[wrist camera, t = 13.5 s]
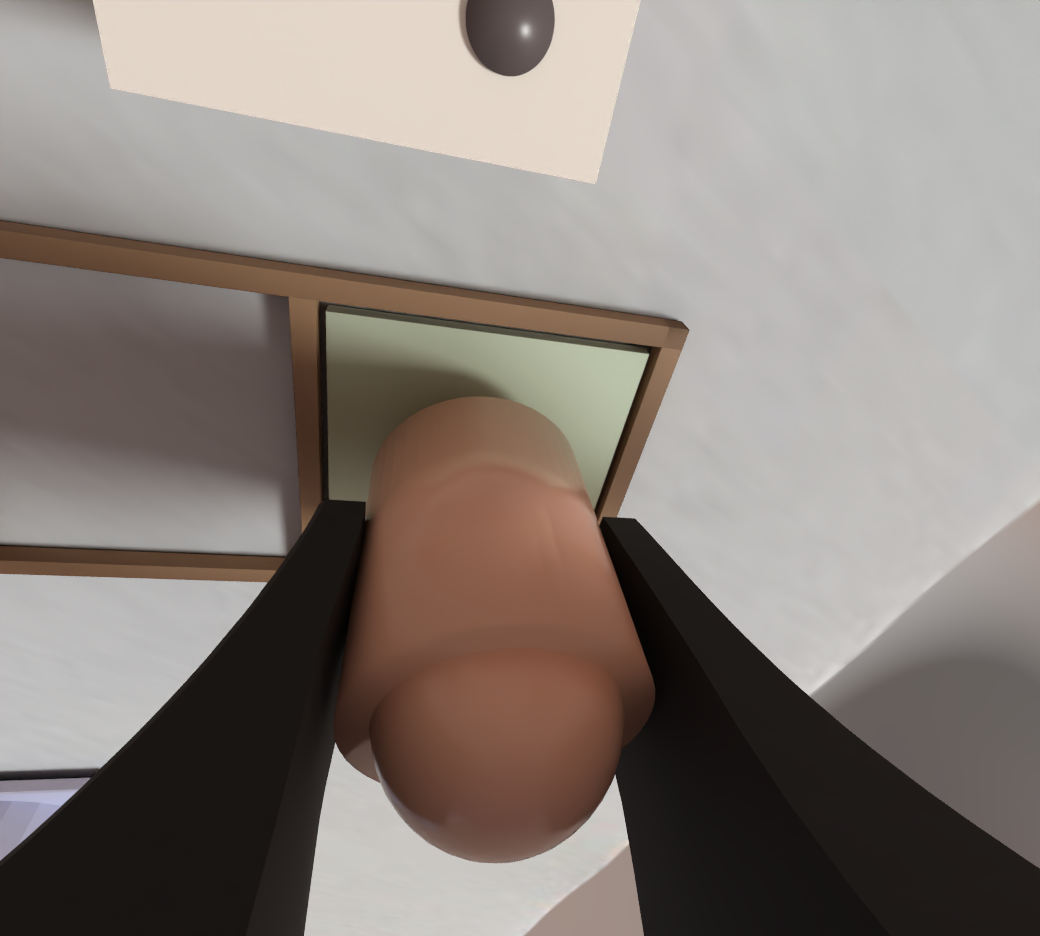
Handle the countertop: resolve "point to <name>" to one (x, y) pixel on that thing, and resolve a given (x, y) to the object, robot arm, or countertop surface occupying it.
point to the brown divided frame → (391, 377)
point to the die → (391, 69)
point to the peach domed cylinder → (487, 635)
